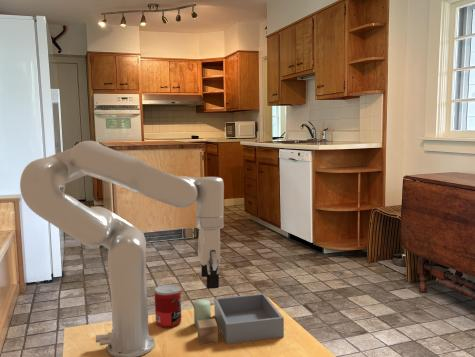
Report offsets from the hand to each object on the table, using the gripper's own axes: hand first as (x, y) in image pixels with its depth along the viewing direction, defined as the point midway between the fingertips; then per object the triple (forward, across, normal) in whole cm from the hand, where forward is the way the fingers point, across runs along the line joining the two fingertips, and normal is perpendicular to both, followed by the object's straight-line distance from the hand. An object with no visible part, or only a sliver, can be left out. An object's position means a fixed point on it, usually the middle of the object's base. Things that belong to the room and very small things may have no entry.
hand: (209, 282), depth 122 cm
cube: (+17, 0, 0) cm, 17 cm away
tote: (+16, -6, +12) cm, 21 cm away
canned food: (+17, -14, -10) cm, 24 cm away
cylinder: (+17, -10, 0) cm, 19 cm away
